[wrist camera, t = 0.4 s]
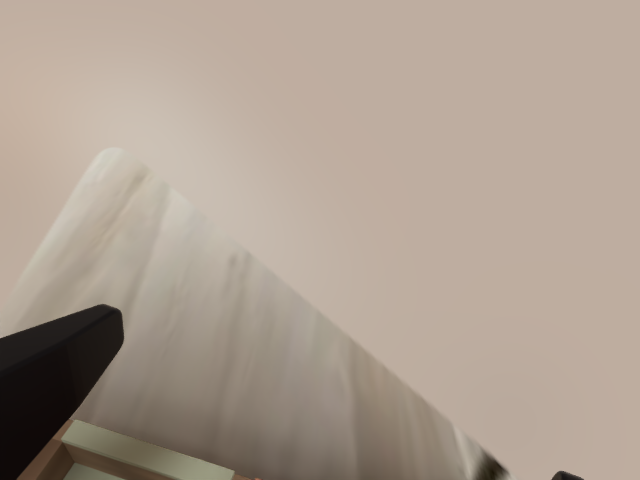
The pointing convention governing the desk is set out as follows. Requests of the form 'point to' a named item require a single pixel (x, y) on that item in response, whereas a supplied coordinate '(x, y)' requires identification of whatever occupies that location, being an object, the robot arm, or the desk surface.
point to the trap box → (115, 459)
